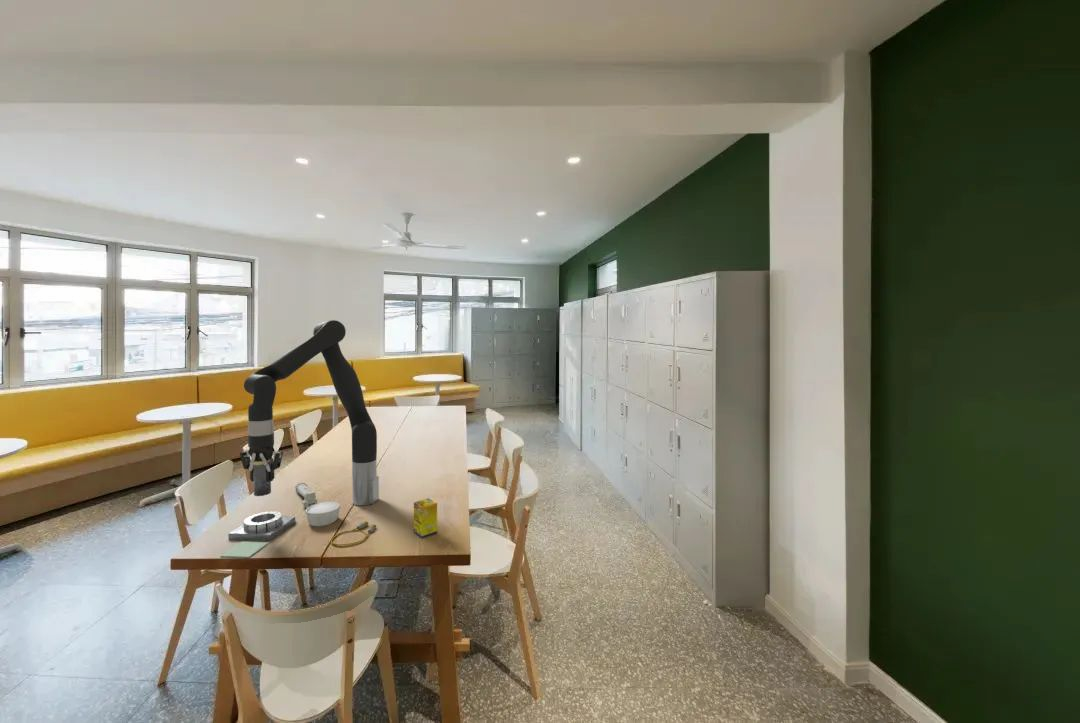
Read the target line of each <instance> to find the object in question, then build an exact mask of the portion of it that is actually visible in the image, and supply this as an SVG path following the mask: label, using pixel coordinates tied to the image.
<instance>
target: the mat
mask: <svg viewBox="0 0 1080 723" xmlns="http://www.w3.org/2000/svg"><path fill="white" fill-rule="evenodd" d="M267 545H269V542H267V541H266V542H265V541H240V542H239V543H238V544H237V543H236V545H234V546H233V547H232V548H230V549H228V550H227V551H225V552H224V553H223V554H221V555H220V558H236V559H237V558H238V559H239V558H241V559H245V558H246V559H249V558H251V557H252V556H254V555H255V554H256V553H258V552H259V551H260V550H262V549H264V548H265V547H266V546H267Z"/></svg>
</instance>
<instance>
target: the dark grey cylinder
mask: <svg viewBox="0 0 1080 723" xmlns="http://www.w3.org/2000/svg"><path fill="white" fill-rule="evenodd" d="M267 462H270V459H269V460H267ZM267 472H268V471H267V469H266V466H264V461H262V460H255V461H253V480H254V482H253V496H254V497H264V496H267V495H270V494H271V493H272V481H271V482H267Z"/></svg>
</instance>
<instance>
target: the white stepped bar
mask: <svg viewBox="0 0 1080 723" xmlns="http://www.w3.org/2000/svg"><path fill="white" fill-rule="evenodd" d="M295 492H296V494H299V495H301V496H302V497H303V499H304V500H302V501H301V502H302V505H303V509H304V510H306V509H307V508H308V507H310V506H312V505H314V504H318V501H319V498H317V497H316V492H315V491H311V490H310V488H309V486H308V484H306V483H305V482H298V483H297V484H296V485H295Z"/></svg>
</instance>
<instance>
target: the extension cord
mask: <svg viewBox="0 0 1080 723" xmlns="http://www.w3.org/2000/svg"><path fill="white" fill-rule="evenodd" d="M367 526H369V522H368V521H367V520H366V521H364V522H361V523H359V524H358V525H357V526H356V528H353V529H351V530H344V531H340V532H339V533H337V534H335V535H334V536H332V538H331V540H330V542H331V543H330V544H332V545H333V546H334V547H338V548H345V547H351V545H352V546H355V544H356V545H359V544H358V543H360V544H362V543H364V542H365V541H367V539H368V536H369V535H370V534H371V533H372V532H374V531H375V530H376V528H377V525H376V524H374V523H373V524H371V525H370V526H369V527H368V530H367V533H366V532H365V531H363V530H361V529H364V528H365V527H367ZM349 532H360V533H363V534H364V535H365V536H364V537H363V539H360V540H358V541H355V542H350V543H342V544H341V543H339V544H338V543H334V542H333V541H334V540H335V538H337V537H339V536H340V535H342V534H345V533H349ZM361 542H362V543H361Z"/></svg>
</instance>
